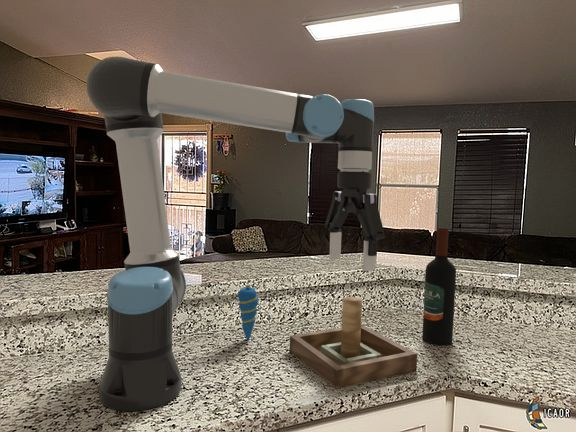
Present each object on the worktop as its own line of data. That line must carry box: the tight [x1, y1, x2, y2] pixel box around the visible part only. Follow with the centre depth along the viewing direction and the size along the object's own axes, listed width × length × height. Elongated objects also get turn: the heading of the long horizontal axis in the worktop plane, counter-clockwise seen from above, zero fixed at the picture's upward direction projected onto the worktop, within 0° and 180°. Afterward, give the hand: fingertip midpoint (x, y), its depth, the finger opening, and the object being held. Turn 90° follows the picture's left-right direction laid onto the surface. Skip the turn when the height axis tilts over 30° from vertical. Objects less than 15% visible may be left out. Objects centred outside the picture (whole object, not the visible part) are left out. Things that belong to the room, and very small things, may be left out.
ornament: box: [237, 284, 259, 341], centre depth 115 cm, size 5×5×15 cm
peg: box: [341, 296, 363, 359], centre depth 103 cm, size 4×4×14 cm
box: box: [289, 324, 418, 390], centre depth 104 cm, size 21×21×4 cm
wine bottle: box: [421, 226, 457, 347], centre depth 117 cm, size 8×8×30 cm
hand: (350, 264), depth 102 cm, fingers open, 13 cm apart
